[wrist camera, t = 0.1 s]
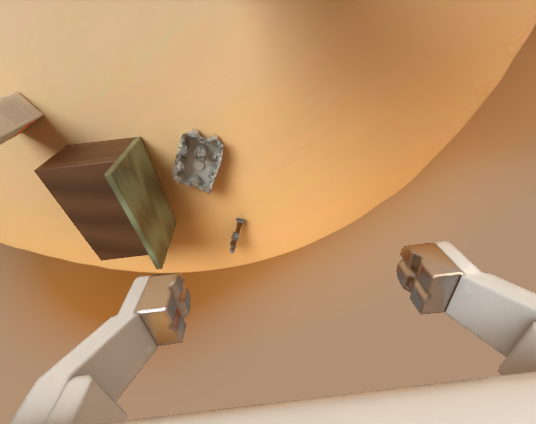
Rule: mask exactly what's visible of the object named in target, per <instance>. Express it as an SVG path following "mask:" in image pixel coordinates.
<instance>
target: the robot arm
mask: <svg viewBox="0 0 536 424" xmlns="http://www.w3.org/2000/svg"><path fill="white" fill-rule="evenodd" d="M400 255H401V256H402V258H403V259H402V260H401V261H400V262H399V263H398V266H397V276H398V279H399V281H400V284H401V285H402V287H403V288H404V289H405V290H407V291H409V292H410V293H411V296H410V299H411V301H412V302H413V304H414V305H415V307H416V308H417V310H418V311H419V313H420V314H430V313H441V312H445V314H447V315H448V316H449V317H451V318H452V319H454V320H455V321H456V322H458V323H459V324H461V325H462V326H463V327H465V328H466V329H468V330H469V331H470V332H472V333H473V334H475V335H476V336H477V337H479V338H480V339H482V340H483V341H484V342H486V343H487V344H489V345H490V346H492V347H493V348H494V349H496V350H497V351H499V352H500V353H501V354H503V355H504V356H506V359H505V360H504V361H503V363H502V364H501V365H500V366H499V370H498V371H499V373H500V374H501V376H494V377H486V378H477V379H469V380H461V381H452V382H444V383H436V384H427V385H419V386H410V387H402V388H393V389H385V390H377V391H369V392H360V393H351V394H343V395H335V396H327V397H318V398H310V399H301V400H293V401H284V402H276V403H269V404H259V405H251V406H243V407H235V408H226V409H218V410H209V411H201V412H193V413H185V414H176V415H168V416H159V417H151V418H143V419H134V420H126V418H127V414H126V412H125V411H124V410H123V409H122V408H121V407H120V406H119V405H118V404H117V403H116V401H117V400H118V398H119V397H120V396H121V395H122V393H123V392H124V391H125V389H126V388H127V387H128V386H129V384H130V383H131V382H132V380H133V379H134V378H135V377H136V375H137V374H138V373H139V371H140V370H141V369H142V367H143V366H144V365H145V364H146V362H147V361H148V360H149V358H150V357H151V356H152V354H153V353H154V352H155V351H156V349H157V348H158V347H157V346H161V345H169V344H176V343H182V341H183V336H184V332H185V328H186V323H185V321H184V318H185V317H186V316H187V315H188V314H189V310H190V295H189V291H188V288H186V287H185V286H184V285H183V282H184V278H183V276H182V274H181V273H169V274H159V275H152V276H140V277H137V278H136V279H135V281H134V282H133V284H132V286H131V289H130V290H129V292H128V295H127V297H126V299H125V301H124V303H123V305H122V307H121V309H120V311H119V313H118V315H117V316H112V317H111V318H110V319H109V320H108V321H106V322H105V323H104V324H103V325H102V326H101V327H99V328H98V329H97V330H96V331H95V332H93V333H92V334H91V335H90V336H89V337H88V338H86V339H85V340H84V341H83V342H82V343H80V344H79V345H78V346H77V347H76V348H75V349H73V350H72V351H71V352H70V353H69V354H67V355H66V356H65V357H64V358H63V359H61V360H60V361H59V362H58V363H57V364H55V365H54V366H53V367H52V368H51V369H50V370H48V371H47V372H46V373H45V374H44V375H42V376H41V377H40V378H39V379H38V380H37V381H36V383H35V384H34V386H33V388H32V389H31V391H30V392H29V394H28V396H27V397H26V399H25V400H24V402H23V403H22V405H21V407H20V408H19V410H18V411H17V413H16V414H15V416H14V417H13V419H12V421H11V422H10V424H536V294H535V293H533V292H531V291H528V290H526V289H524V288H522V287H519V286H517V285H515V284H512V283H510V282H508V281H506V280H503V279H501V278H499V277H496V276H494V275H492V274H489V273H487V272H486V273H482V272H481V271H480V270H479V269H478V268H477V267H476V266H475V265H474V264H472V263H471V262H470V261H469V260H468V259H467V258H466V257H465V256H464V255H463V254H462V253H461V252H460V251H459V250H458V249H457V248H455V246H453V245H452V244H451V243H450V242H448V241H440V242H433V243H425V244H417V245H409V246H404V247H403V248H402V250H401V253H400Z"/></svg>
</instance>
